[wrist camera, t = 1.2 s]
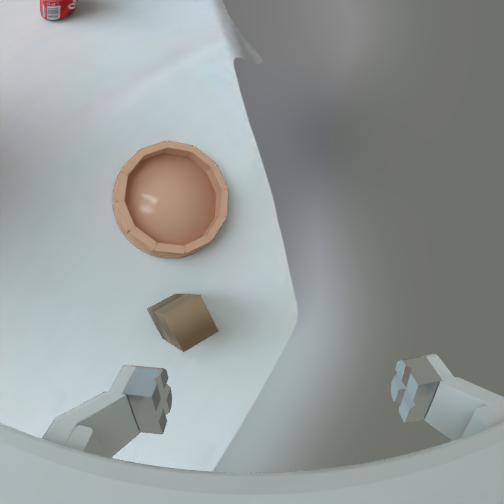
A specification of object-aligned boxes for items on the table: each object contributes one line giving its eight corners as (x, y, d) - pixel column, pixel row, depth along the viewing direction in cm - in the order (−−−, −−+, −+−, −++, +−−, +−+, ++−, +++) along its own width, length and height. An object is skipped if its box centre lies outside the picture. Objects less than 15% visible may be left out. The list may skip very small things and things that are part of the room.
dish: (95, 168, 38) (96, 161, 35) (196, 134, 45) (203, 126, 43) (142, 278, 40) (145, 277, 37) (240, 230, 47) (249, 227, 45)
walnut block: (147, 309, 39) (163, 314, 31) (175, 293, 41) (200, 294, 33) (162, 338, 40) (183, 351, 31) (190, 322, 42) (218, 331, 33)
